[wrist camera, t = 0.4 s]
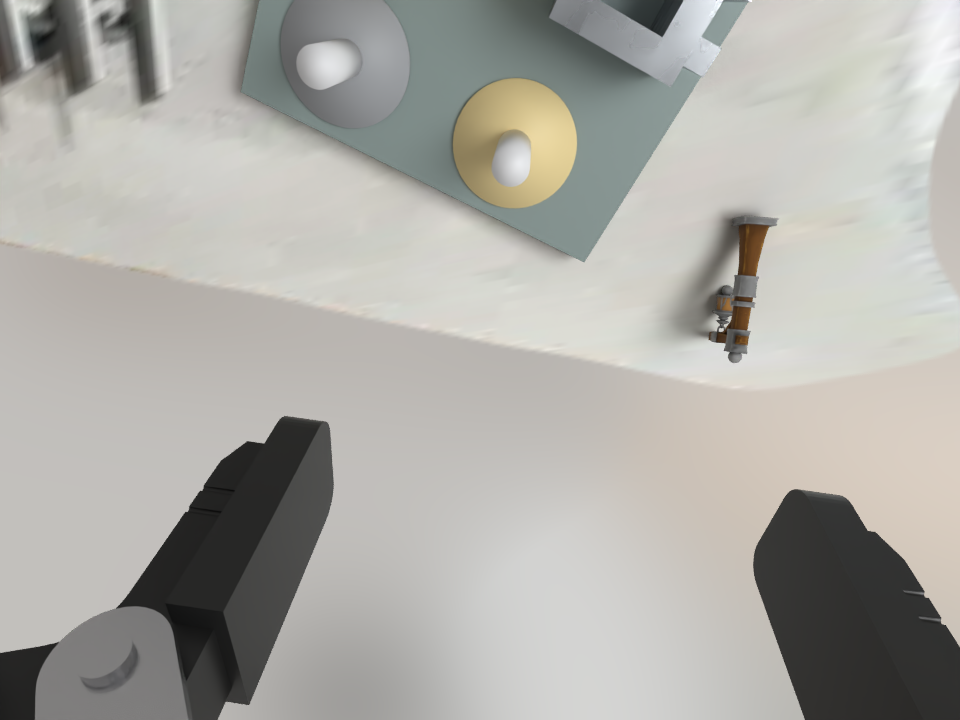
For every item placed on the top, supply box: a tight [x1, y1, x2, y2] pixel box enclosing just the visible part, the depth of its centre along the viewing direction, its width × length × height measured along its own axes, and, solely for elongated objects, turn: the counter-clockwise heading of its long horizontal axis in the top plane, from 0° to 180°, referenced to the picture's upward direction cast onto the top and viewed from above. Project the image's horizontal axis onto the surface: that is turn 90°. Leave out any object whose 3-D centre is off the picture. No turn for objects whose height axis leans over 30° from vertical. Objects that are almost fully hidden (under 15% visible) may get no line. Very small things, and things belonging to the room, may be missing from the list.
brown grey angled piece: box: [709, 216, 779, 363], centre depth 33 cm, size 2×8×5 cm, turn 177°
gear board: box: [241, 0, 748, 262], centre depth 25 cm, size 18×21×6 cm
